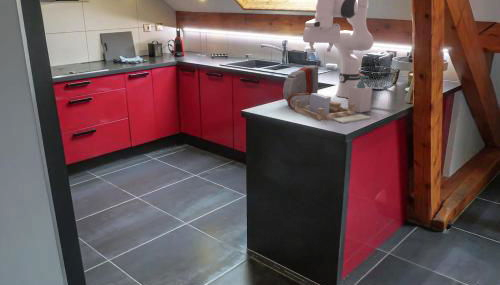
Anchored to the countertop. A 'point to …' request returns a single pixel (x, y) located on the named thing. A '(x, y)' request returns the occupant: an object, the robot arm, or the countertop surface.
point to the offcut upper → (335, 105)
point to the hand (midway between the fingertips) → (320, 51)
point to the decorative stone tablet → (301, 81)
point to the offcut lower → (335, 110)
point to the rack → (319, 115)
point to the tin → (299, 96)
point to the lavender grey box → (319, 103)
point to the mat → (351, 118)
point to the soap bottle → (360, 96)
